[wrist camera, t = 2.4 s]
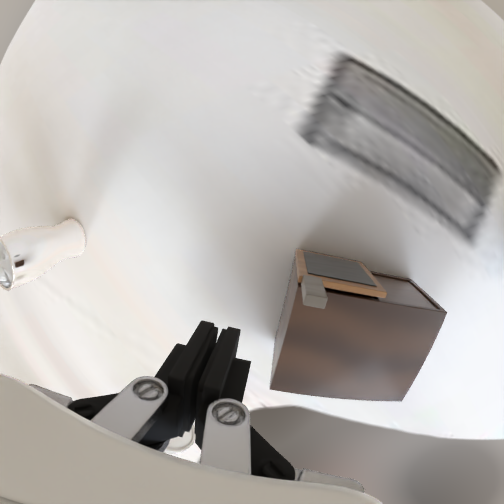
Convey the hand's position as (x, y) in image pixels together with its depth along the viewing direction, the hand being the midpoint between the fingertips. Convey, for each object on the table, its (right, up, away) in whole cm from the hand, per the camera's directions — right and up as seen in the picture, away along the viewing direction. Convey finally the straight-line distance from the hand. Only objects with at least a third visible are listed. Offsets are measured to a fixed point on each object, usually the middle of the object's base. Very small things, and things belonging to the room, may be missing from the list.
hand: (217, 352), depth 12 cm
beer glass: (-26, +7, +25) cm, 37 cm away
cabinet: (+13, -3, +22) cm, 26 cm away
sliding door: (+11, +4, +20) cm, 23 cm away
